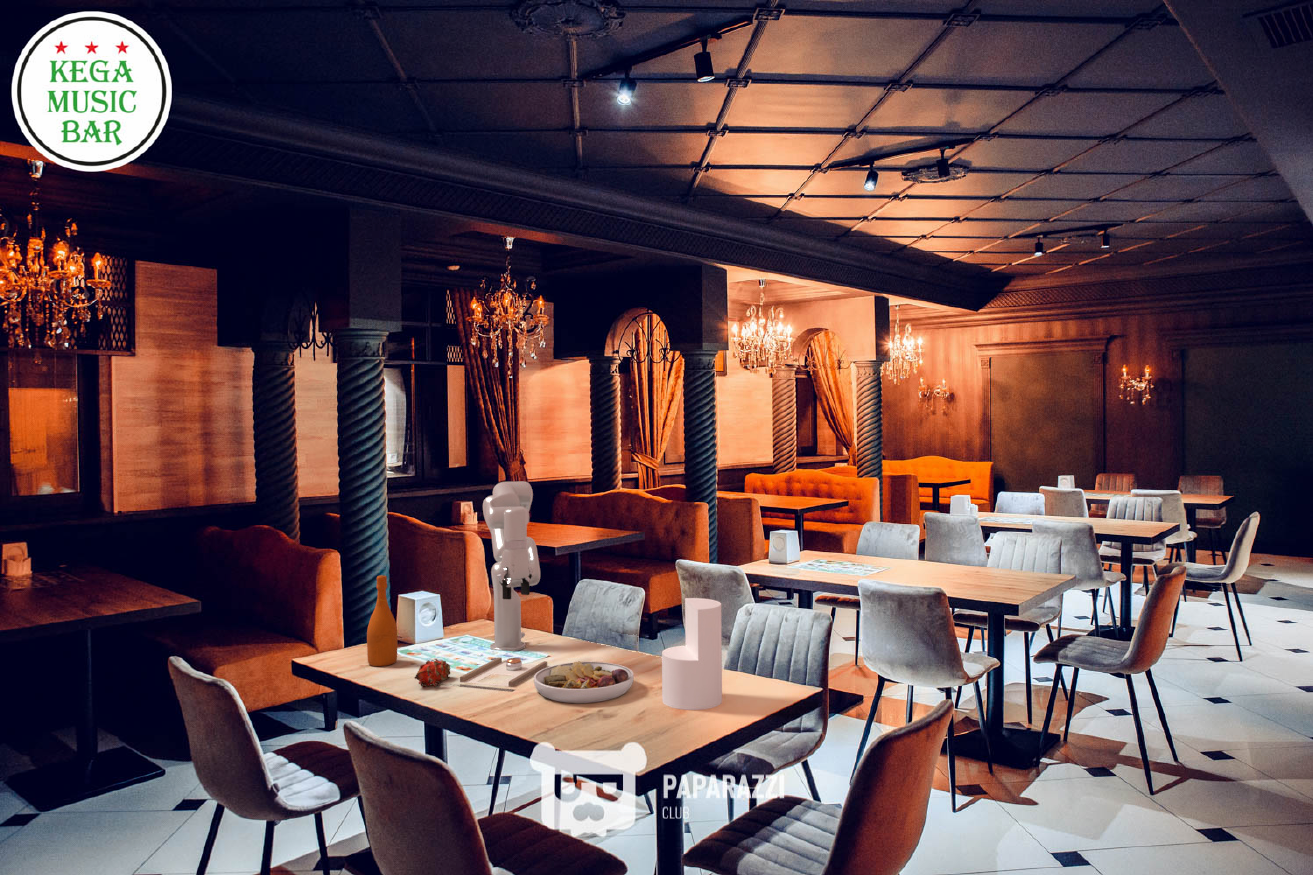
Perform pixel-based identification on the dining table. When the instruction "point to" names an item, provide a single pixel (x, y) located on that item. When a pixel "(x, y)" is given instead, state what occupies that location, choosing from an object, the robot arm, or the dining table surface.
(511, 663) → the puck
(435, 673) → the dragon fruit
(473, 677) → the board
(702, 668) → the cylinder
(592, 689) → the bowl
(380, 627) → the wine bottle
